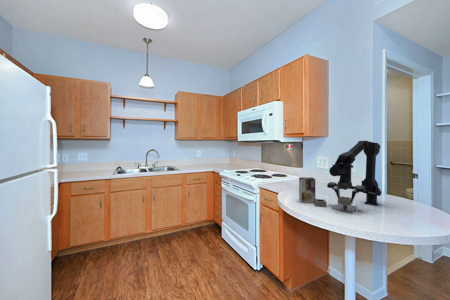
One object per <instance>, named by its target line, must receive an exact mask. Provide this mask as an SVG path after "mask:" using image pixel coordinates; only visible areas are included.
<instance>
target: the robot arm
mask: <svg viewBox="0 0 450 300" xmlns="http://www.w3.org/2000/svg"><path fill="white" fill-rule="evenodd" d="M380 150H381V145H380V144H379V143H378V142H373V141H369V140H359V141H357V143H355V145H353V147H351V148H350V149H349V150H347V151H345V152H342V153H340V154H339V155H338V157H337V158H336V161H335V162H334V164H332V166H331V167H330V168H329V169H328V170H329V171H328V172H329V174H330V176H332V177H339V180H338V181H337V182H335V181H334V182H333V181H330V182H327V183H326V184H327V185H326V187H327V188H328V189H331V190H333V191H334V192H335V194H336V197H337V199H338V198H339V197H340V196H341V193H340V190H345V191H346V190H351V197H350V198H351V202H353V203H354V199H355V197H356V195H357V194H359V193H363V194H365V201H364V204H367V205H373V206H378V205H379V202H378V197H380V196H381V195H382V192H383V191H382V190H381V189H380V188H379V183H378V182H377V180H376V164H377V156H378V155H379V153H380ZM361 152H363V153H364V155H365V157H366V161H365V177H364V179H363V180H361V185H359V184H356V185H353V183H352V169H353V168H354V165H352V164H353V163H354V162H355V161H356V157H357V156H358V155H359V154H360V153H361Z"/></svg>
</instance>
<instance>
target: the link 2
mask: <svg viewBox="0 0 450 300" xmlns="http://www.w3.org/2000/svg"><path fill="white" fill-rule="evenodd" d="M343 198H347V199H343ZM338 203H339V204H345V205H353V203H354V201H353V202H351V197H349V196H348V197H346V196H342V195H340V197H339V198H338V197H337V204H338Z"/></svg>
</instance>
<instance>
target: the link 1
mask: <svg viewBox="0 0 450 300" xmlns="http://www.w3.org/2000/svg"><path fill="white" fill-rule="evenodd" d="M313 205H314V207H320V208H321V207H322V208H327V206H328V205H327V201H326V199H322V198H321V199H320V198H315V199H314V203H313Z"/></svg>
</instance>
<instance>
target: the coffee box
mask: <svg viewBox="0 0 450 300" xmlns="http://www.w3.org/2000/svg"><path fill="white" fill-rule="evenodd" d="M314 199H316V178H314V177H310V176H309V177H308V176H307V177H306V176H304V177H298V200H300V201H299V202H300V203H301V204H314Z"/></svg>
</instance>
